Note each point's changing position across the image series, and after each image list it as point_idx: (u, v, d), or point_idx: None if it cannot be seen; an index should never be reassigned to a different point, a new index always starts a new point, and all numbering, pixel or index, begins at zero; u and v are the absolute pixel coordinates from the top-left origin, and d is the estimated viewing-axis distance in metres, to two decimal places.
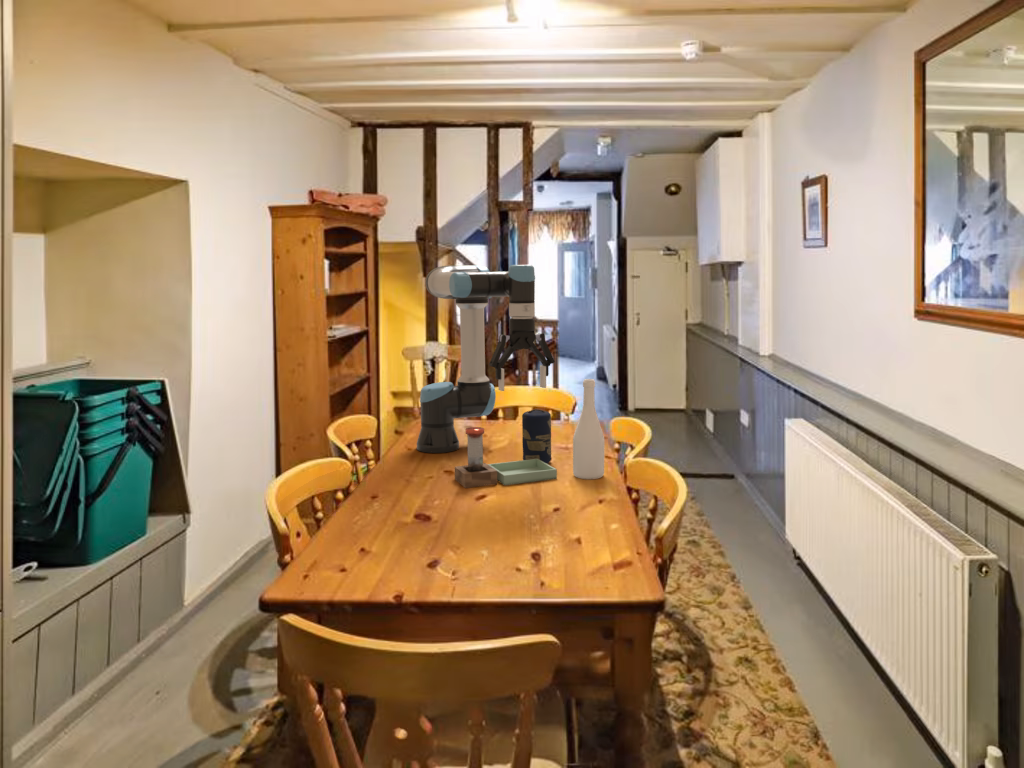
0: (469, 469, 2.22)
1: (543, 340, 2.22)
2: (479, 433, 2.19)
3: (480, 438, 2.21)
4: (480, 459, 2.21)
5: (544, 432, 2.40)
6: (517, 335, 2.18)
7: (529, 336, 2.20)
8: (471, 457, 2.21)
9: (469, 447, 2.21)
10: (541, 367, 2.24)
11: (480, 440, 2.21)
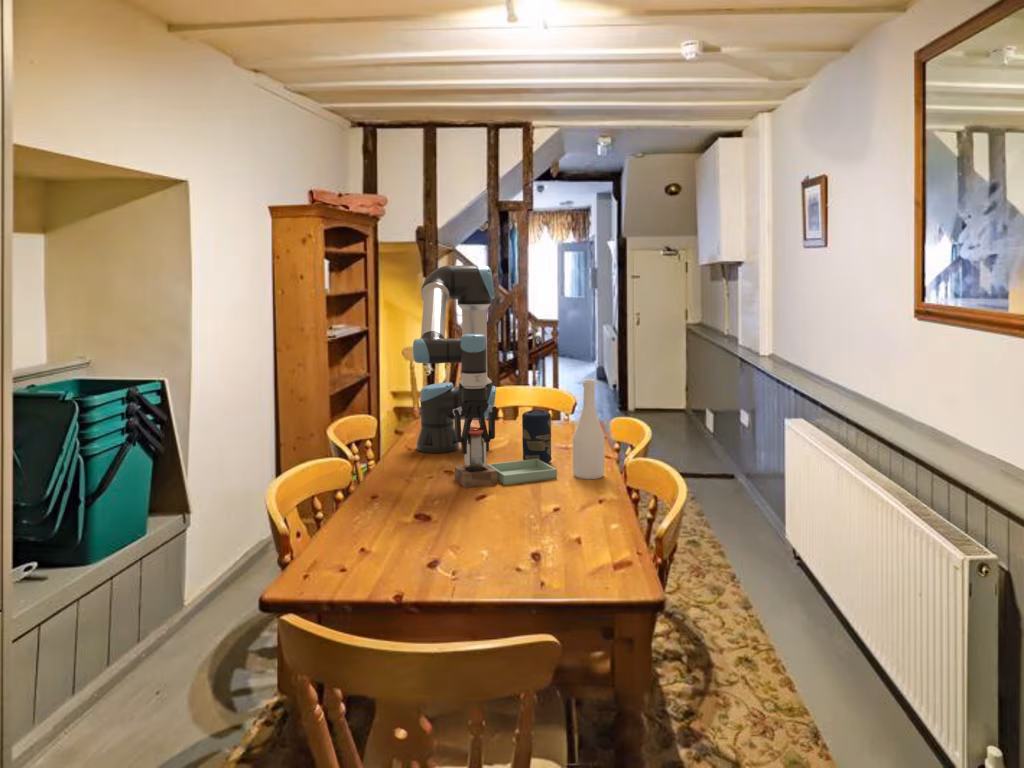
0: (469, 469, 2.22)
1: (493, 413, 2.22)
2: (479, 433, 2.19)
3: (480, 438, 2.21)
4: (480, 459, 2.21)
5: (544, 432, 2.40)
6: (467, 403, 2.19)
7: (482, 403, 2.20)
8: (471, 457, 2.21)
9: None
10: None
11: (480, 440, 2.21)
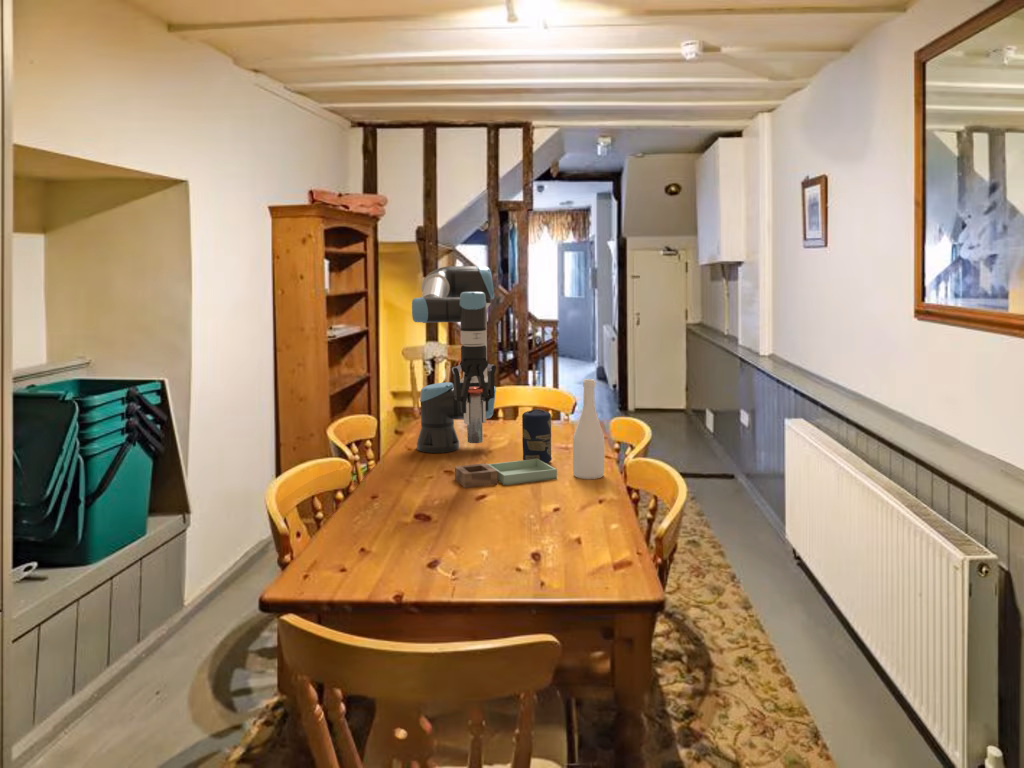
0: (468, 428, 2.21)
1: (492, 372, 2.20)
2: (478, 392, 2.18)
3: (479, 397, 2.19)
4: (480, 418, 2.20)
5: (544, 432, 2.40)
6: (467, 361, 2.17)
7: (481, 361, 2.19)
8: (470, 416, 2.19)
9: None
10: None
11: (479, 399, 2.19)
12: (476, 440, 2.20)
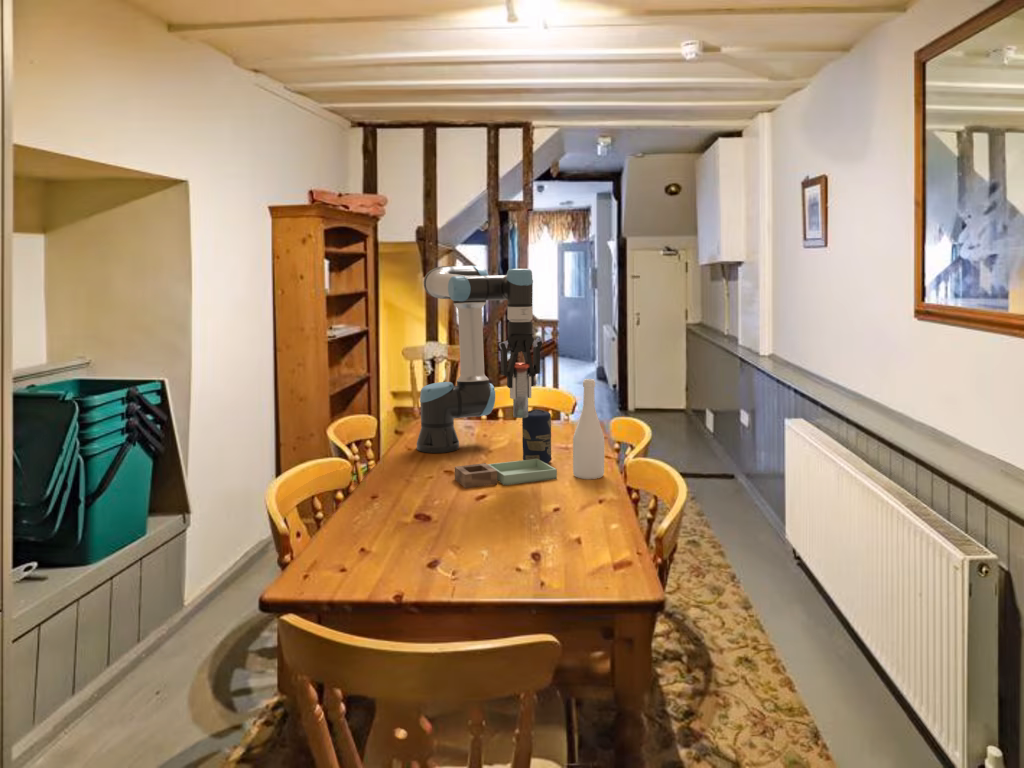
0: (515, 403, 2.25)
1: (538, 348, 2.25)
2: (525, 367, 2.22)
3: (526, 372, 2.23)
4: (526, 393, 2.24)
5: (544, 432, 2.40)
6: (514, 337, 2.21)
7: (528, 337, 2.23)
8: (516, 391, 2.24)
9: (515, 381, 2.24)
10: None
11: (525, 374, 2.23)
12: (522, 414, 2.25)
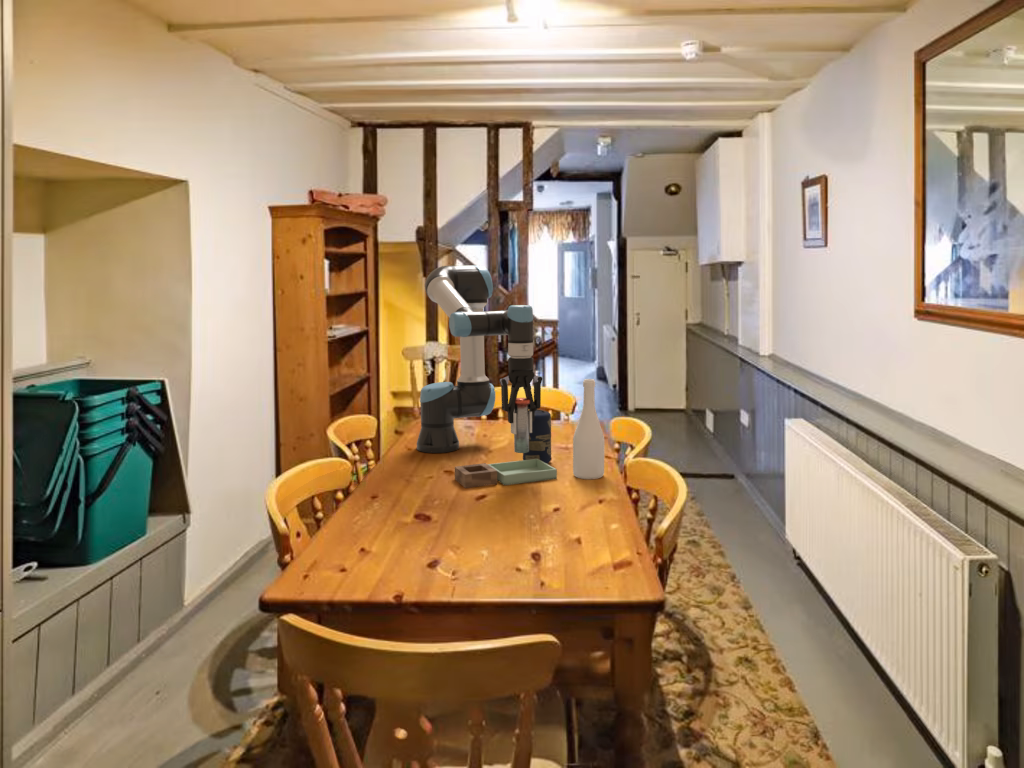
0: (515, 439, 2.26)
1: (539, 383, 2.26)
2: (526, 403, 2.24)
3: (526, 408, 2.25)
4: (526, 429, 2.26)
5: (544, 432, 2.40)
6: (514, 373, 2.23)
7: (528, 373, 2.25)
8: (517, 426, 2.25)
9: (516, 417, 2.25)
10: None
11: (526, 409, 2.25)
12: (523, 450, 2.26)
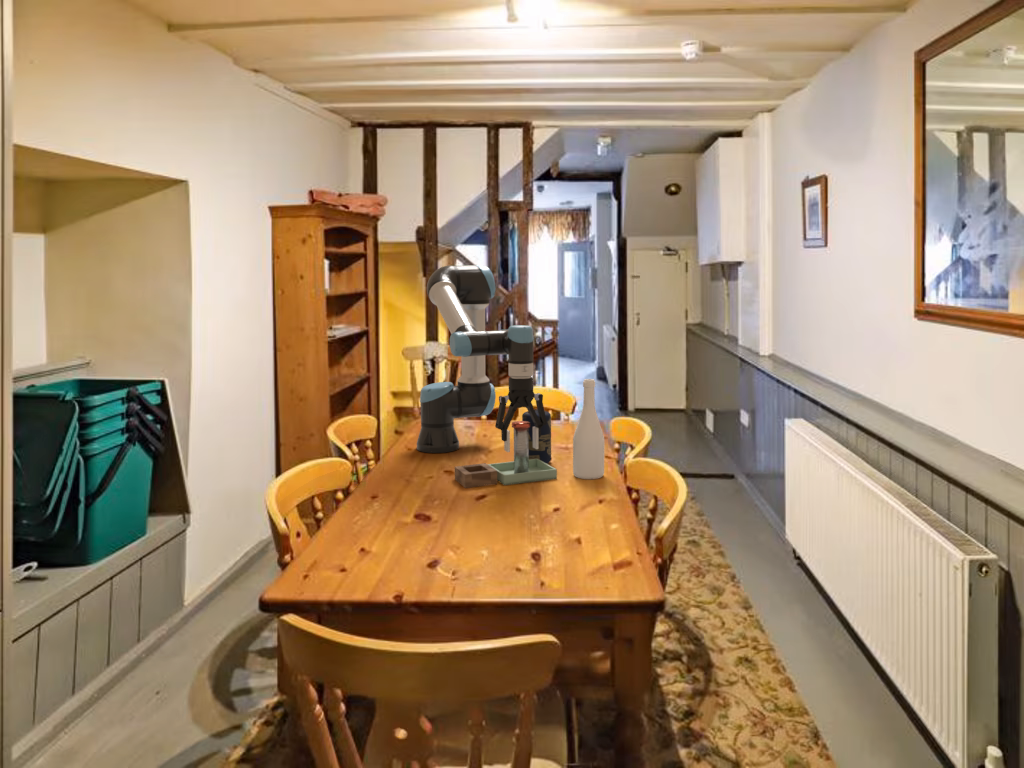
0: (515, 462, 2.28)
1: (540, 401, 2.27)
2: (525, 427, 2.25)
3: (526, 432, 2.26)
4: (526, 452, 2.27)
5: (544, 432, 2.40)
6: (515, 393, 2.24)
7: (528, 394, 2.26)
8: (517, 450, 2.27)
9: (515, 440, 2.26)
10: (534, 429, 2.29)
11: (526, 433, 2.26)
12: None
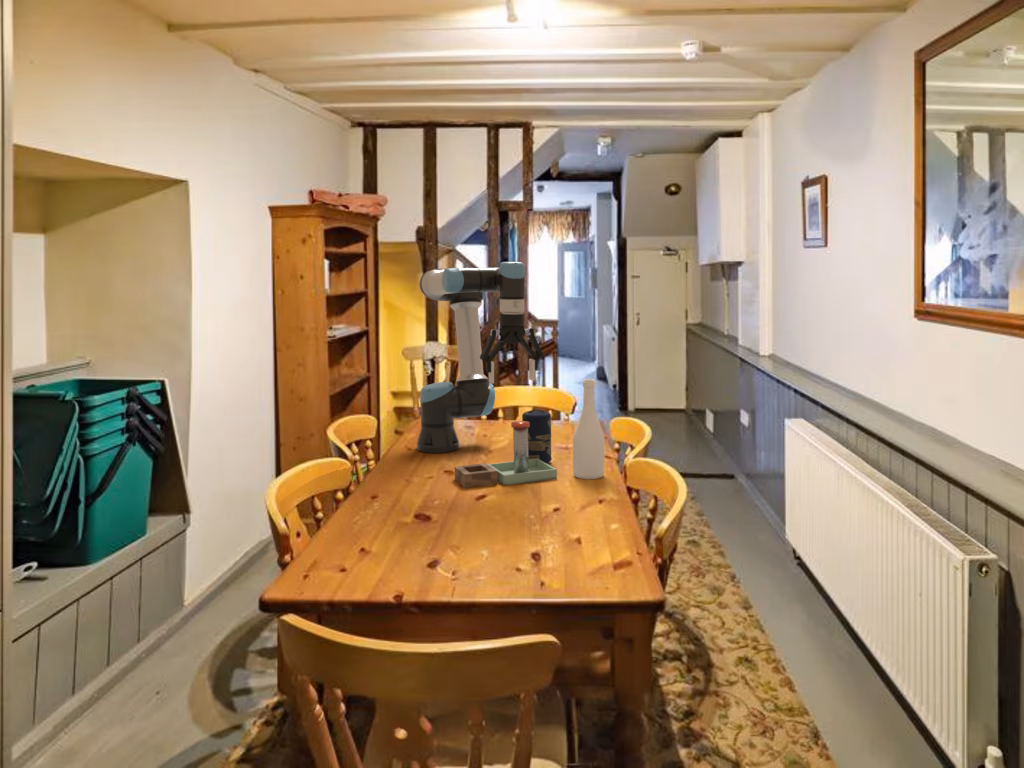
0: (515, 462, 2.28)
1: (532, 335, 2.30)
2: (525, 426, 2.25)
3: (526, 431, 2.26)
4: (526, 452, 2.27)
5: (544, 432, 2.40)
6: (507, 330, 2.27)
7: (519, 331, 2.28)
8: (517, 450, 2.27)
9: (515, 440, 2.27)
10: (530, 361, 2.33)
11: (525, 433, 2.26)
12: None
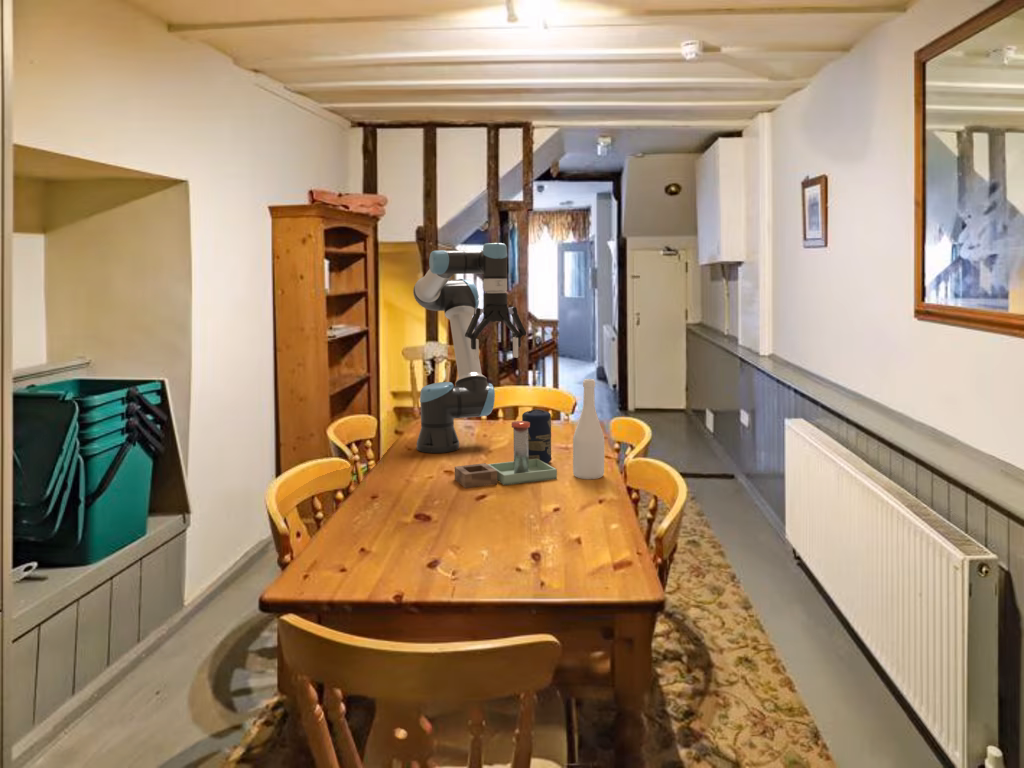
0: (515, 462, 2.28)
1: (515, 313, 2.40)
2: (525, 427, 2.25)
3: (526, 432, 2.26)
4: (526, 452, 2.27)
5: (544, 432, 2.40)
6: (491, 308, 2.36)
7: (502, 309, 2.38)
8: (517, 450, 2.26)
9: (515, 440, 2.26)
10: (514, 338, 2.42)
11: (526, 433, 2.26)
12: None
